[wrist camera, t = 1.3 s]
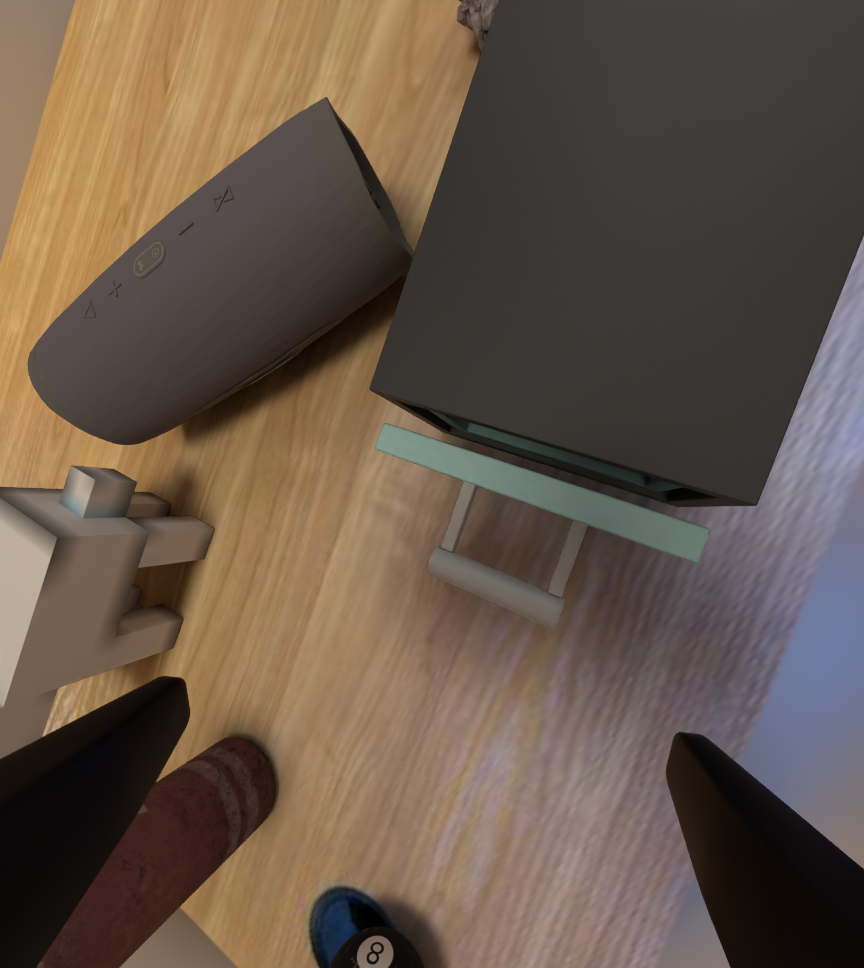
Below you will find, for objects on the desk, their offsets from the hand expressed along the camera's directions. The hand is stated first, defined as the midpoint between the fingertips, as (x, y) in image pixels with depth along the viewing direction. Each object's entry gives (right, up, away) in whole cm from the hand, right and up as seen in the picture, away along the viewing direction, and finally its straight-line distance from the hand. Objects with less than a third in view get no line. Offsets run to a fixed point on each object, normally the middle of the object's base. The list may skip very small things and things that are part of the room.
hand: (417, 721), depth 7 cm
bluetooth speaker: (-11, +15, +23) cm, 29 cm away
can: (-13, -17, +22) cm, 30 cm away
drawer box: (+10, +15, +15) cm, 23 cm away
